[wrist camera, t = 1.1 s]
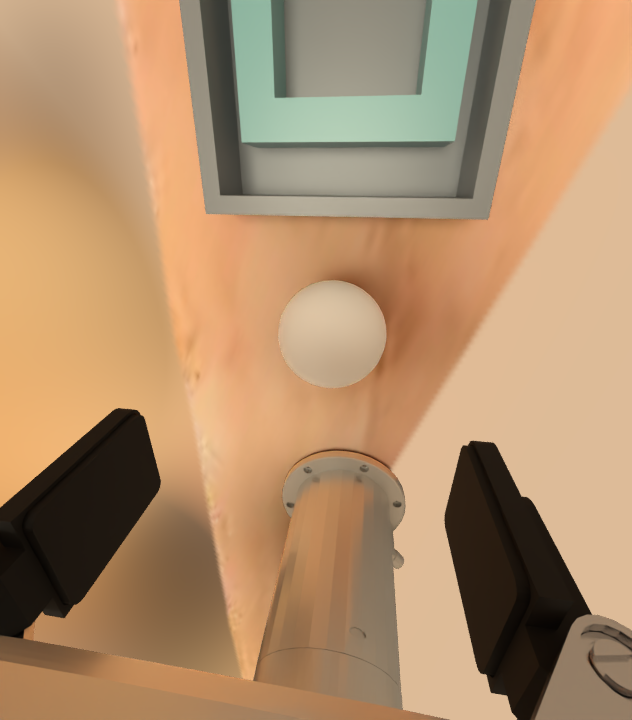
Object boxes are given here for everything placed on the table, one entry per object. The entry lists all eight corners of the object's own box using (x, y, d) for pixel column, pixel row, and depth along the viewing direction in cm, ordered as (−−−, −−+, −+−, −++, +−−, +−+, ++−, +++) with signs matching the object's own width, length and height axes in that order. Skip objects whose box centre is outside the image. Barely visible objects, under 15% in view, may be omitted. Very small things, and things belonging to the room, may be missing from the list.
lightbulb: (365, 242, 25) (363, 277, 15) (392, 317, 27) (405, 392, 17) (290, 273, 26) (244, 323, 17) (320, 342, 29) (296, 421, 19)
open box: (195, -228, 16) (131, -382, 12) (557, -278, 14) (641, -484, 10) (235, 209, 25) (206, 213, 20) (465, 213, 23) (487, 219, 19)
